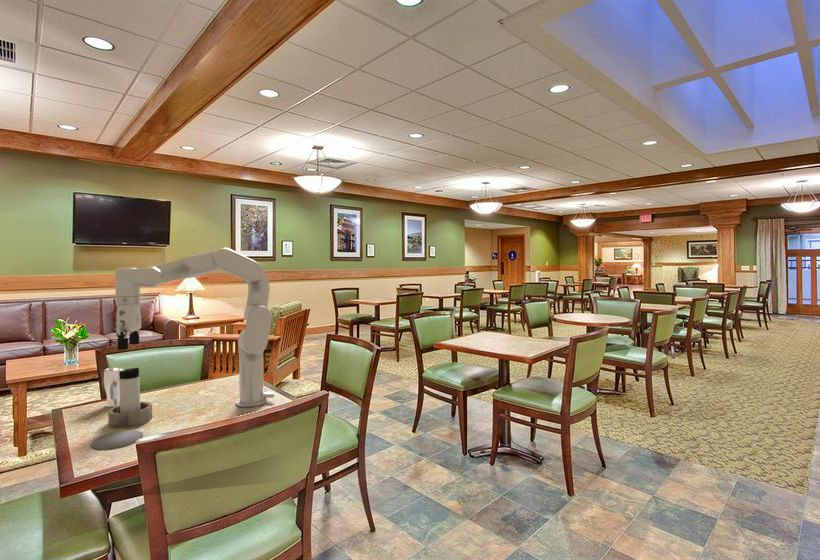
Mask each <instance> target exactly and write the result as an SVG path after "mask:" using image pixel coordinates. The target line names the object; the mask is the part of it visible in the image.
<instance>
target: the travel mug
mask: <svg viewBox="0 0 820 560" xmlns="http://www.w3.org/2000/svg"><path fill="white" fill-rule="evenodd" d="M119 376H120V377H119V387H120V413H130V412H135V411H139V410H140V402H141V389H140V388H141V387H140V386H141V385H140V380H141V379H140V368H139V367H133V368H127V369H125V370H124V369H123V371H120V372H119Z"/></svg>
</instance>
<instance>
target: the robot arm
mask: <svg viewBox="0 0 820 560" xmlns="http://www.w3.org/2000/svg"><path fill="white" fill-rule="evenodd" d="M222 270H223V271H225V272H228V273H229V274H232V275H234V276H236V277H239V278H240V279H242V280H244V281H245V282H246V284H247V286H248V287H247V288H248V290H247V298H246V304H245V309H244V313H243V319H244V320H245V323H246V324H245V329H244V330H241V332H240V333H239V335H238V337H237V338H238V339H237V347H238V361H239V362H238V363H239V364H238V367H239V369H238V371H239V372H238V373H239V374H238V375H239V377H238V378H239V380H238V381H239V384H238V385H239V398H237V399H236V400H235V405H236V406H237V407H242V408H250V407H259V406H261V405H264V404H266V403H267V402H268V399H272V398H275V392H272V391H266V389H265V388H264V351H265V350H266V348H267V346H268V343H269V336H270V331H271V324H272V313H271V311H270V308H269V307H268V306H269V299H270V298H269V297H270V289H271V288H270V287H271V286H270V282H269V278H268V276H267V274H266V273H265V271H264V268H263V266H262V264H261V263H259V262H258V261H256V260H254V259H251V258H249V257H247V256H245V255H243V254H240V253H239V252H237V251H235V250H233V249H232V248H228V247H222V248H221V247H219V248H217V249H213V250H212V249H211V250H208V251H205V252H200V253H195V254H192V255H188V256H185V257H181V258H180V259H176V260H173V261H169V262H165V263H161V264H156V265H153V266H152V265H151V266H147V267H141V268H140V267H139V268H136V267H118V268H116V269H115V272H114V283H115V284H114V286H115V287H114V288H115V291H114V292H115V294H114V295H115V306H117V307H116V321H115V322H116V324H115V325H116V326H115V327H116V328H115V330H116V331H115V332H116V339H117V350H118V351H120V350H122V351H123V350H125V351H126V350H129V345H139V344H140V329H141V328H142V314H141V313H142V312H141V306H140V305H141V291H140V290H141V288H140V287H145V288H155V287H159V286H160V285H161V284H165V283H169V282H173V281H177V280H182V279H190V278H191V279H192V278H196V277H200V276H203V275H206V274H211V273H212V274H213V273H215V272H218V271H222ZM128 337H129V338H128Z"/></svg>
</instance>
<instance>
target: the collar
mask: <svg viewBox="0 0 820 560" xmlns="http://www.w3.org/2000/svg"><path fill="white" fill-rule="evenodd" d="M107 414H108V416H107V417H108V418H107V421H108V422H107V424H108V426H109V428H114V429H125V428H127V429H128V428H133V427H137V425H138V426H141V425H144V424H146V423H148V422H150V421H151V420H152V419H153V404H152V403H151V402H148V401H140V410H139V411H135V412H130V413H120V405H118V406H115V407H110V409H109V410H107Z"/></svg>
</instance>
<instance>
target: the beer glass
mask: <svg viewBox="0 0 820 560" xmlns="http://www.w3.org/2000/svg"><path fill="white" fill-rule="evenodd" d="M120 371H124V367H122V366H119V367H116V366H115V367H110V368H109V367H108V368H105V369H104V370H103V385H104V391H105V394H106V401H105V407H106V408H113V407H115V406H118V405H120V387H119V377H120V376H119V372H120Z"/></svg>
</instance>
